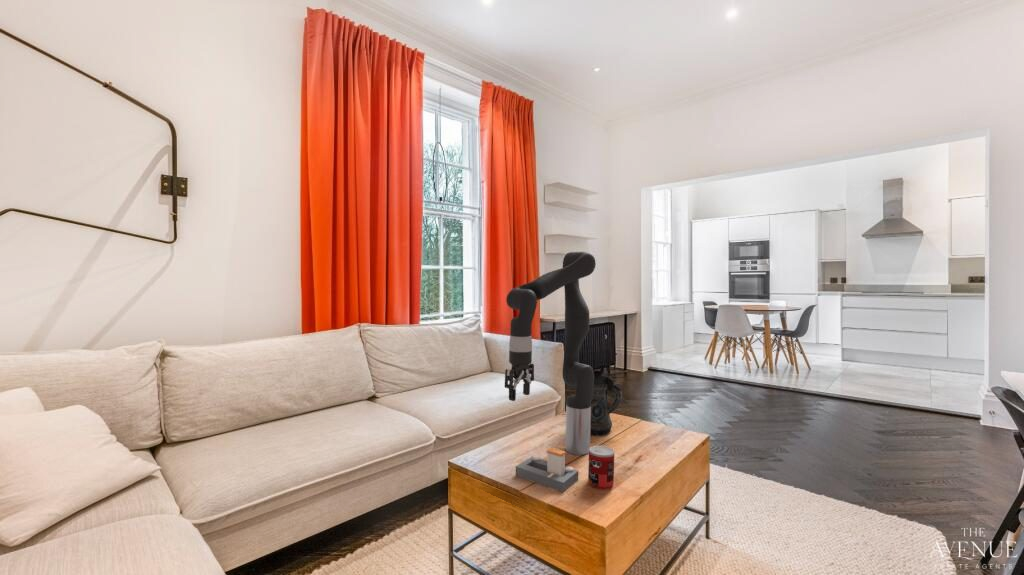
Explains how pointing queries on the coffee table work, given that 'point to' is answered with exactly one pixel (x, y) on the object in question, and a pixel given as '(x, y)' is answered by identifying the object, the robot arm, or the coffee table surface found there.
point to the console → (546, 474)
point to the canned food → (601, 467)
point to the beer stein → (603, 404)
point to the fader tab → (556, 461)
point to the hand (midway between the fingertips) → (519, 397)
